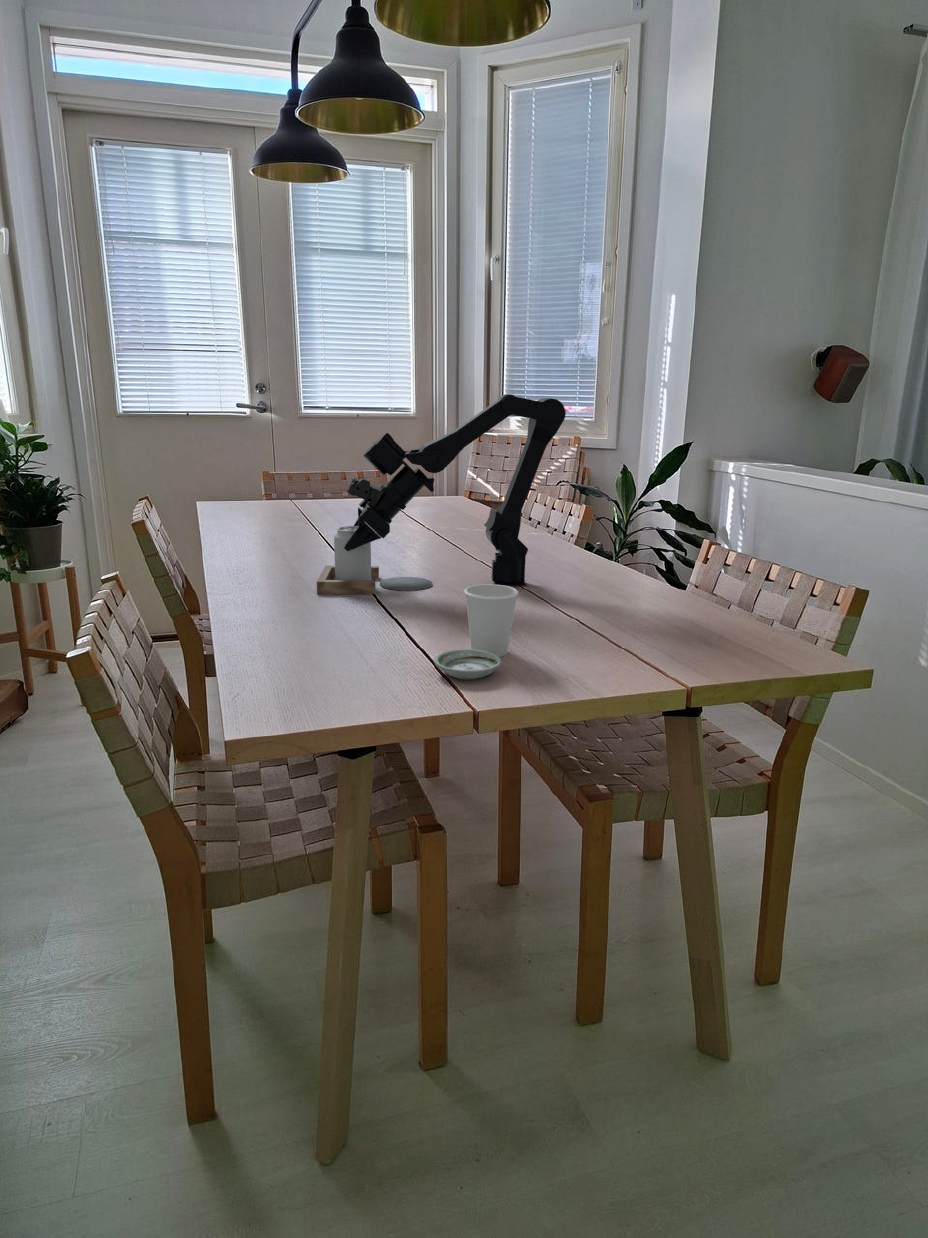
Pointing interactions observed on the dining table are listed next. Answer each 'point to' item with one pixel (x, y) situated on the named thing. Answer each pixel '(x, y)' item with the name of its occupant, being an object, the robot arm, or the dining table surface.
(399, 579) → the pad
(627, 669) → the dining table surface
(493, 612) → the dixie cup
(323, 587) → the wooden frame
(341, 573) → the can
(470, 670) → the saucer
